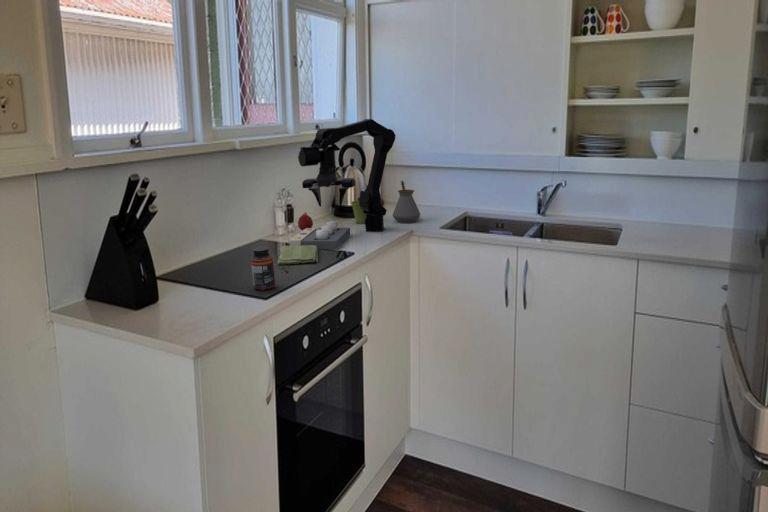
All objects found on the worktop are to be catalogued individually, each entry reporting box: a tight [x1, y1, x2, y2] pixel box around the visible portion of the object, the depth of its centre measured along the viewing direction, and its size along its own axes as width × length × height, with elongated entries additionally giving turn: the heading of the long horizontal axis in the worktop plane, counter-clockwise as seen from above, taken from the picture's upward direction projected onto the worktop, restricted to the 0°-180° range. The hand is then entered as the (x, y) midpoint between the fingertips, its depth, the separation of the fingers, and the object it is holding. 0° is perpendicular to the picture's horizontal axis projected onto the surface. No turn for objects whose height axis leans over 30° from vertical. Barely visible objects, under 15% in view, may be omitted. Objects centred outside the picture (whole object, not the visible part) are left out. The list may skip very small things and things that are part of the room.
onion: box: [297, 212, 314, 232], centre depth 234 cm, size 6×6×8 cm
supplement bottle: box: [250, 246, 276, 291], centre depth 166 cm, size 6×6×11 cm
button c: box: [316, 229, 328, 240], centre depth 210 cm, size 4×4×4 cm
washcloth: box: [277, 245, 319, 266], centre depth 197 cm, size 13×18×3 cm
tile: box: [288, 227, 317, 246], centre depth 219 cm, size 4×20×3 cm, turn 170°
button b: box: [320, 224, 333, 236], centre depth 217 cm, size 4×4×4 cm
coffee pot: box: [392, 180, 421, 224], centre depth 252 cm, size 21×12×15 cm, turn 3°
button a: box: [325, 220, 338, 231], centre depth 223 cm, size 4×4×4 cm
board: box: [302, 227, 351, 250], centre depth 217 cm, size 12×22×3 cm, turn 170°
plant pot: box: [350, 200, 367, 225], centre depth 249 cm, size 9×9×9 cm
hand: (330, 206), depth 221 cm, fingers open, 7 cm apart
